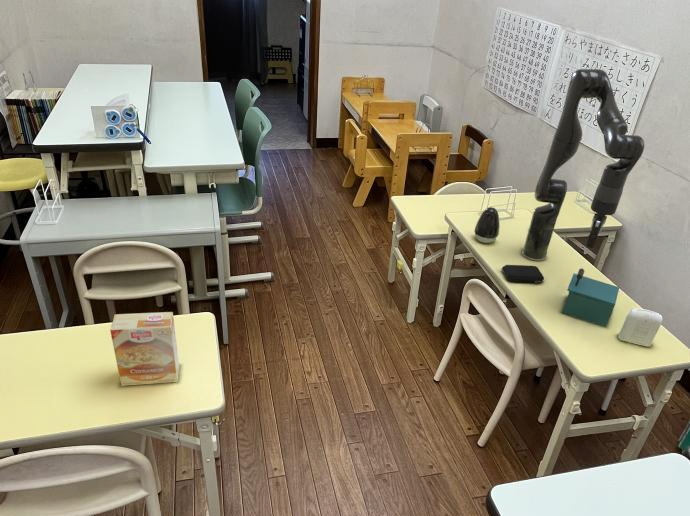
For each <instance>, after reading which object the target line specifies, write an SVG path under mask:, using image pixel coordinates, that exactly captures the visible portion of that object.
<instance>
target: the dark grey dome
mask: <svg viewBox="0 0 690 516" xmlns="http://www.w3.org/2000/svg"><path fill="white" fill-rule="evenodd" d="M500 223H501V222H500V215H499V212H498V210H497V209H496V208H495V207H491V206H489V207H486V208H485V209H484V210H483V211H482V213H481V214H480V216H479V218H478V220H477V221H476V224H475V226H474V230H473V232H474V236H475V238H476V240H477V241H479V242H481V243H484V244H491V243H493V242H495V240H497V238H498V237H499V235H500V226H501V225H500Z"/></svg>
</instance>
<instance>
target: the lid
mask: <svg viewBox="0 0 690 516" xmlns="http://www.w3.org/2000/svg"><path fill="white" fill-rule="evenodd" d="M584 274H585V269H584V268H582V267H581V268H579V269H578V271H577V273H575V272H574V273H573V274H572V277H571V279H570V280H569V281H570V282H569V284H568V287H567V290H566V291H567V292H569V291H570V292H573V293H576V294H579V295H582V296H585V297H589V298H592V299H595V300H598V301H601V302H604V303H607V304H610V305H613V306H614V307H615V306H616V303H617V299H618V294H619V292H620V291H619V290H620V287H619V286H617V285H614V284H610V283H607V282H604V281H600V280H597V279H594V278H591V277H588V276H584Z"/></svg>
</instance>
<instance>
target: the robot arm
mask: <svg viewBox="0 0 690 516" xmlns="http://www.w3.org/2000/svg"><path fill="white" fill-rule="evenodd" d="M582 99H596V100H597V101H598V103H599V107H598V110H597V113H596V123H597V126H598V127H599V129H600V131H601V134H602V135H603V142H604V152H605V153H606V155H607V156H608V157H609V158H610V159H614V160H618V161H615V162H613V163H610V164H606V166H605V167H604V169H603V172H602V175H601V176H600V181H599V183H598V185H597V187H596V190H595V193H594V195H593V199H592V202H591V205H590V209H591V211H592V212H594V214H593V216H592V220H591V225H590V228H589V230H590V232H589V233H588V239H587V242H586V245H585V246H586V248H588V249H593V248H594V247H595V244H596V241H597V239H598V238H599V234H600V233H601V232H602V229H603V228H604V226H605V224H606V222H607V219H608V216H613V215H615V214H616V211H617V208H618V207H619V204H620V200H621V198H622V195H623V191H624V187H625V185H626V182H627V179H628V176H629V174H630V173H631V171H632V170H633V168H634V167H635V166H636V164H637V163H638V162H639V160H640V159H641V157H642V155H643V154H644V151H645V141H644V138H643V137H642V136H640V135H636V134H628V130H629V126H628V123H627V122H626V120H625V117H624V116H623V114H622V112H621V111H620V109H619V107H618V104H617V102H616V97H615V95H614V90H613V87H612V84H611V81H610V77H609V75H608V73H607V72H606V71H605V70H603V69H599V68H594V69H593V68H578V69H576V70H575V71H574V72H573V73H572V75H571V77H570V79H569V84H568V88H567V90H566V96H565V100H564V103H563V108H562V112H561V114H560V118H559V121H558V124H557V126H556V130H555V132H554V135H553V139H552V141H551V145H550V149H549V152H548V154H547V158H546V161H545V164H544V166H543V169H542V171H541V174H540V176H539V178H538V180H537V183H536V186H535V190H534V199H535V200H536V201H537V202H540V203H547V204H544V205H540V206H537V207H536V208H534V210H533V213H532V216H531V220H530V223H529V227H528V231H527V233H526V234H527V235H526V238H525V241H524V245H523V249H522V251H521V254H522V256H523V257H524V258H526V259H528V260H531V261H535V262H537V261H538V262H539V261H540V262H541V261H544V260H545V259H546V257H547V254H548V250H549V246H550V244H551V240H552V236H553V234H554V230H555V227H556V223H557V220H558V217H559V215H560V212H561V209H562V206H563V204H564V202H565V198H566V196H567V192H568V183H567V181H566V180H564V179H558V178H553V176H554V175H555V174H556V172H557V171H558V170H559V169H560V168H561V167H563V166H564V165H565V164H566V163H568V162H569V160H571V159H572V158H573V157H574V156H575V155H576V154H577V153H578V149H579V147H580V144H581V141H582V139H583V128H582V125H581V121H580V119H579V114H578V109H579V105H580V102H581V100H582Z"/></svg>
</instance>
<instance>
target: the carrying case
mask: <svg viewBox="0 0 690 516" xmlns="http://www.w3.org/2000/svg"><path fill="white" fill-rule="evenodd" d="M501 271H502V272H503V275H504V277H505V278H506V280H507V281H509V282H515V283H534V284H538V283H541V282H544V280H545V277H544V274H543V273H542V272H541V270H540V268H539V267H538V266H536V265H528V264H527V265H525V264H505V265H503V266H502V267H501Z"/></svg>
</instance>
